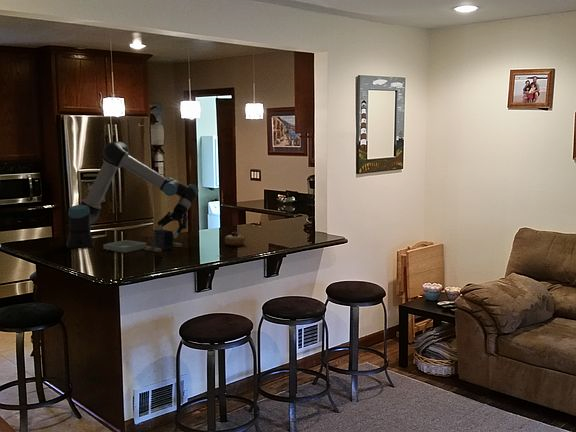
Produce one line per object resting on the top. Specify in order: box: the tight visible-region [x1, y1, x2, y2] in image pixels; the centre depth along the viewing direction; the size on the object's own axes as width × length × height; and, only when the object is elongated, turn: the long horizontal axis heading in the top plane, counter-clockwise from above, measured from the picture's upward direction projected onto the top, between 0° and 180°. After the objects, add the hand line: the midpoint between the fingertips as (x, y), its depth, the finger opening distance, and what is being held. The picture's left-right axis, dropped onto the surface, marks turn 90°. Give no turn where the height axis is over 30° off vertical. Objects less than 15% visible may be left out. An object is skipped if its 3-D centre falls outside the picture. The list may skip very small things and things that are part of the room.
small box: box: [153, 228, 174, 251], centre depth 358 cm, size 11×6×10 cm, turn 47°
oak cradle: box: [143, 242, 183, 253], centre depth 358 cm, size 12×18×2 cm, turn 148°
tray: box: [103, 239, 148, 254], centre depth 356 cm, size 17×17×3 cm
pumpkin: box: [224, 229, 246, 247], centre depth 370 cm, size 12×12×9 cm
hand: (165, 236), depth 358 cm, fingers open, 13 cm apart
